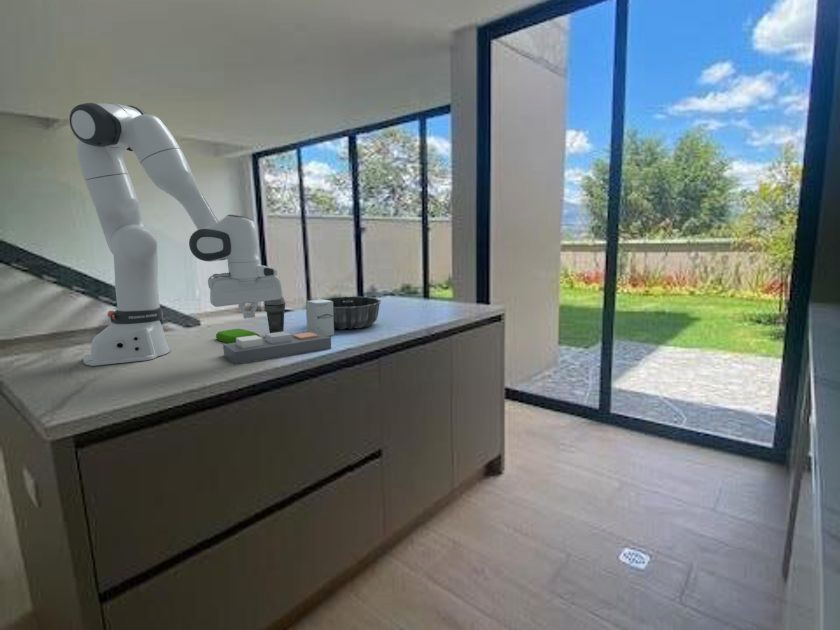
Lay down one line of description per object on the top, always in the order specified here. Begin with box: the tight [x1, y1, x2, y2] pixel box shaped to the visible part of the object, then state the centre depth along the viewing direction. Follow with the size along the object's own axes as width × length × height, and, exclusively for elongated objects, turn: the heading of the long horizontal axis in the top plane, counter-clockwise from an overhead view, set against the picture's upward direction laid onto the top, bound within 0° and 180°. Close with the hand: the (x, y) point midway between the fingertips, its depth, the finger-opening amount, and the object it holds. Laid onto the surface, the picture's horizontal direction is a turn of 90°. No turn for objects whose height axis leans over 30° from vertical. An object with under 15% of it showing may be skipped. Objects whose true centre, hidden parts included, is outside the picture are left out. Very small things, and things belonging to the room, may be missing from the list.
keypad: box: [222, 331, 332, 365], centre depth 148 cm, size 30×12×4 cm, turn 128°
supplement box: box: [305, 298, 335, 337], centre depth 171 cm, size 7×7×13 cm
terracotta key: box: [292, 332, 318, 340], centre depth 153 cm, size 6×6×3 cm
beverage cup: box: [264, 295, 286, 333], centre depth 169 cm, size 7×7×20 cm
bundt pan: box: [321, 296, 382, 330], centre depth 189 cm, size 26×26×10 cm
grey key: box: [264, 331, 292, 344], centre depth 148 cm, size 6×6×3 cm
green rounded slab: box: [215, 328, 263, 344], centre depth 162 cm, size 3×11×24 cm
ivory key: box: [236, 335, 264, 349], centre depth 142 cm, size 6×6×3 cm
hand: (249, 317), depth 141 cm, fingers closed
